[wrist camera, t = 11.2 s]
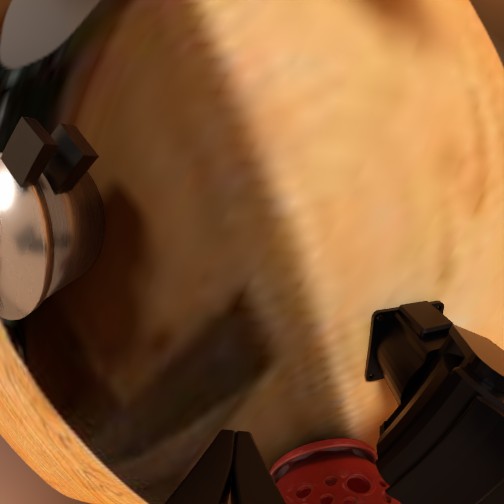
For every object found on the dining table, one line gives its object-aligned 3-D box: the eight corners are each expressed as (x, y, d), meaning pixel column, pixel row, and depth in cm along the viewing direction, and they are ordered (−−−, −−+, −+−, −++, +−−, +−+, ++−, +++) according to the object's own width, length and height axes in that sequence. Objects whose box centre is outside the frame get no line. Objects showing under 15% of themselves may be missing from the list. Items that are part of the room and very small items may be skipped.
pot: (79, 103, 17) (29, 87, 11) (155, 196, 19) (114, 205, 13) (-22, 280, 21) (-58, 299, 15) (28, 352, 23) (-4, 381, 17)
